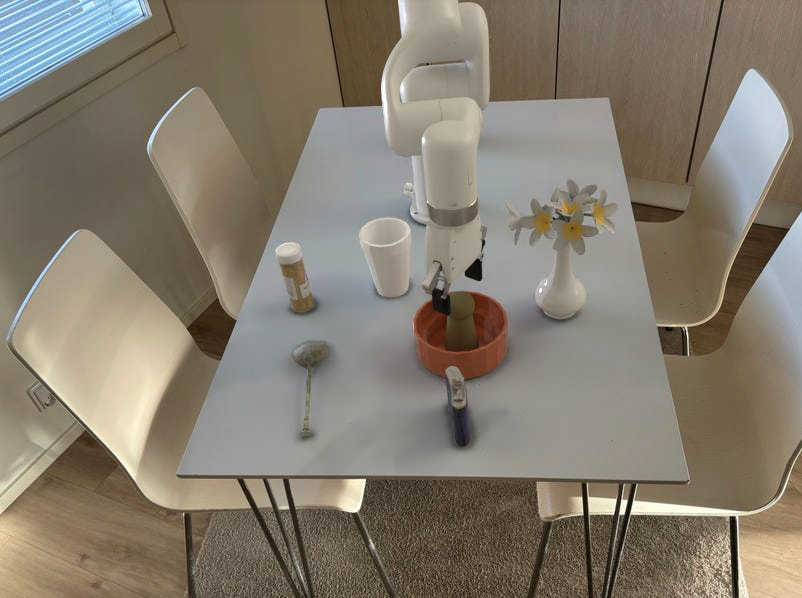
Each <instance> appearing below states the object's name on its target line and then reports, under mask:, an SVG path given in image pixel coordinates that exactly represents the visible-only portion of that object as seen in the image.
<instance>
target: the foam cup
mask: <svg viewBox="0 0 802 598" xmlns="http://www.w3.org/2000/svg"><path fill="white" fill-rule="evenodd" d="M358 239H359V243H360V247H361V249H362V251H363V254H364V256H365V259H366V262H367V265H368V268H369V271H370V274H371V277H372V280H373V283H374V285H375V289H376V291H377V293H378V294H379V295H380V296H382V297H384V298H388V299H389V298H390V299H391V298H398V297H401V296H402V295H405V294H406V293H407V291H408V290H409V287H410V267H411V244H412V231H411V227H410V226H409V223H408V222H407V221H404V220H403V219H400V218H397V217H391V216H389V217H387V216H386V217H379V218H378V217H377V218H375V219H373V220H370V221H368V222H366V223H365V224H364V225H363V226H362V227H360V230H359V233H358Z"/></svg>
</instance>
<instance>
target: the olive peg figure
mask: <svg viewBox="0 0 802 598" xmlns="http://www.w3.org/2000/svg"><path fill="white" fill-rule="evenodd" d="M463 291H464V290H456V291H452V292H453V293H450V294H449V296H450V302H451V314H450V315H449V316H447V328H446V339H445V349H446V351H452V352H464V351H472V350H475V349H478V348H479V342H478V337H477V333H476V328H475V324H474V319H473V315H472V314H473V312H474V309H475V302H474V299H473V297H472V296H471V295H470V294H469V293H467V292H463Z"/></svg>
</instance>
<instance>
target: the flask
mask: <svg viewBox="0 0 802 598" xmlns="http://www.w3.org/2000/svg"><path fill="white" fill-rule="evenodd" d="M444 378H445V385H446V395H447V396H446V397H447V404H448V405H447V408H448V414H449V415H450V424H451V426H452V427H453V435H454V436H453V437H454V444H456V445H457V446H458V447H459V448H462V447H464V448H465V447H467V446H469V445H470V444H471V440H472V435H471V433H472V431H471V424H470V414H469V401H468V400H469V399H468V390H467V384H466V381H465V378H464V377H463V376H462V374H461V372H460V370H459V369H458V368H457V367H454V366H450V367H448V368H447V369H445V377H444Z"/></svg>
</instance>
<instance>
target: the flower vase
mask: <svg viewBox="0 0 802 598" xmlns="http://www.w3.org/2000/svg"><path fill="white" fill-rule="evenodd" d="M565 187H566V189H567V191H565V190H561V187H559V186H558V187H556V189H555V190H554V191H553V193H552V195H551V198H550V201H548V202H546V203H544V204H542V205H541V203H540V202H539V200H538V199H536V198H531V200H530V210H531V213H532V215H526V216H524V215H523V214H522V213H521V212H520V211H519V210H517V208H515V207H514V206H513V205H512V204H511V203H510V202H509V201H508V200H505V205H506V208H507V211H508V212H509V214H510V215H511V216H512V217H510V218H509V220H508V229H509V230H510V232H513V231H514V245H515V246H517V244H518V241H519V238H520V234H521V232H522V230H523V229H527V230H531V229H532V231H531V233H530V235H529V239H528V243H529V245H530V247H535V246H536V245H537V243H539V241H540V239H541V238H542V236H543V237H545V238H546V239H547V240H550V241H551V240H553V239H554V243H553V245H552V249H553V250H554V255H553V261H552V262H553V263H552V268H551V271H550V272H549V274H548V275H546V276H545V277H543V278H542V279H541V280H540V281H539V283H538V284H537V286H536V288H535V291H534V300H535V303H536V304H537V306H538V307H539V309H540V310H542V311H543V313H544V314H545V315H546V316H547V317H549V318H551V319H553V320H566V319H569V318H572V317H573V316H574V315H575V314H576V313H577V312H579V311H580V310H581V309H582V308H583V306H584V305H585V303H586V302H587V290H586V287H585V286H584V284H583V282H582V281H581V280H580V279H579V278H578V277H576V275H575V273H574V270H573V251H574V253H576V254H577V255H579V256H582V255H584V254H585V253H586V243H585V240H584V238H593V237H595V236H597V235H598V236H601V235H602V234H603V231H604V229H605V230H606V231H608V233H610V234H611V235H615V234H616V232H617V231H616V226H615V224H614V222H613V221H612V220H611V219H610V217H612V216H614V215H615V214H616V213H617V212H618V210H619V204H618V203H617V202H609V203H607V195H608V194H607V191H606V189H605V188H602V189H601V190H600V192H599V195H598V198H597V197H592V196H593V194H594V193H596V192H597V190H598V185H596V184H588V185H586V186H584V187H583V188H581V190H580V187H579V185H578V183H577V182H575V180H573V179H571V178H568V179H567V180H565ZM590 211H591V213H587V212H590ZM555 215H557V216H556V217H555ZM585 217H590V218H591V217H592V219H593V222H594V225H595V226H594V225H586V224H585V225H584V224H583V223H584V220H585Z"/></svg>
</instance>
